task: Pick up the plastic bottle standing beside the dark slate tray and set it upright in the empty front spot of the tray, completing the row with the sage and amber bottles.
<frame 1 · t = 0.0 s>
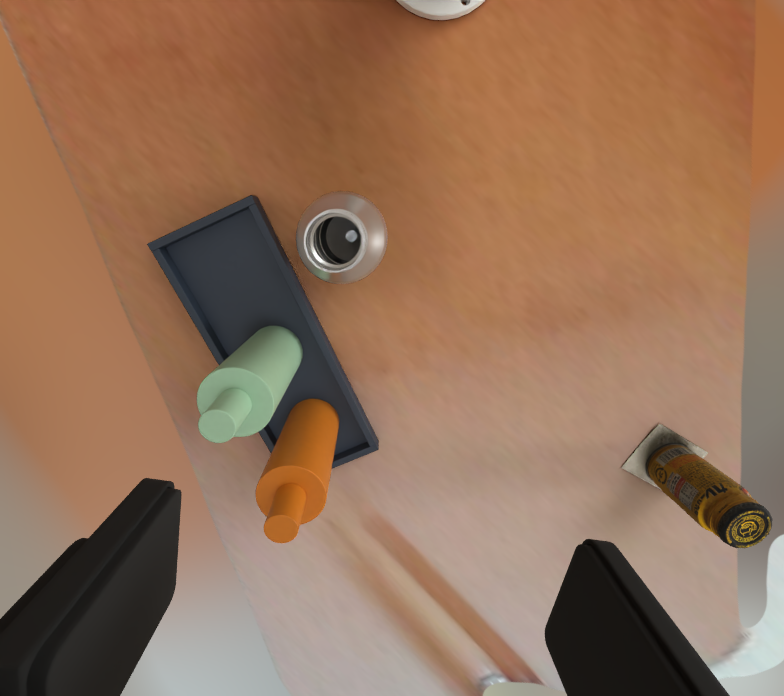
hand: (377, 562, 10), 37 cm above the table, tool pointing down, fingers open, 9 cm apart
sage bottle: (275, 351, 46), point 1 cm above the table, touching tray
condiment: (662, 458, 53), on the table
tray: (277, 350, 46), on the table
amber bottle: (313, 421, 49), point 1 cm above the table, touching tray
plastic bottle: (351, 235, 43), on the table
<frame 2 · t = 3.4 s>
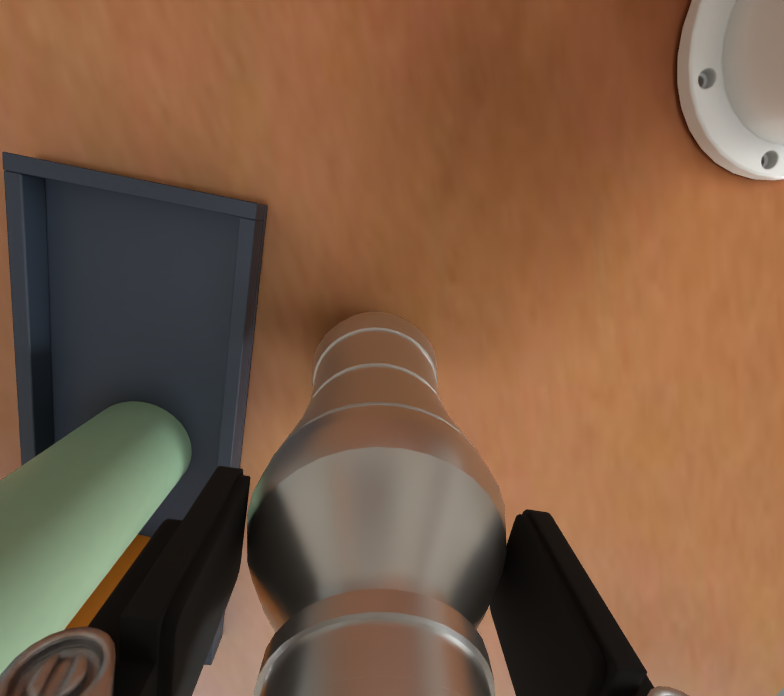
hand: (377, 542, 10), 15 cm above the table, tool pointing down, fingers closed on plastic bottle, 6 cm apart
sage bottle: (141, 446, 25), point 1 cm above the table, touching tray
tray: (146, 441, 26), on the table
amber bottle: (137, 570, 28), point 1 cm above the table, touching tray
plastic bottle: (375, 355, 25), on the table, touching gripper
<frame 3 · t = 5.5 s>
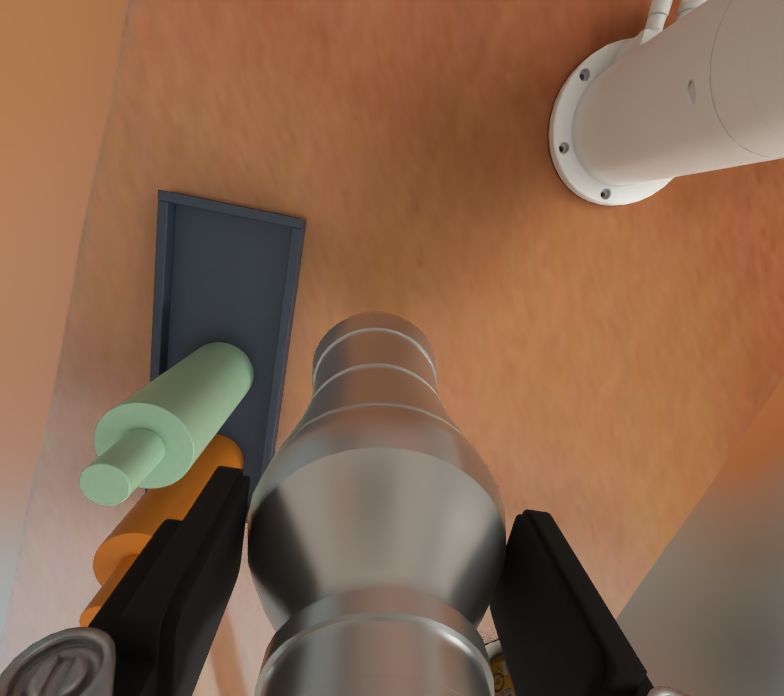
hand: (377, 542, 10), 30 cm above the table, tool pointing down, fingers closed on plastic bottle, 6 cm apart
sage bottle: (221, 372, 39), point 1 cm above the table, touching tray
condiment: (506, 661, 52), on the table
tray: (223, 370, 40), on the table
amber bottle: (213, 459, 41), point 1 cm above the table, touching tray
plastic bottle: (375, 355, 25), point 15 cm above the table, touching gripper
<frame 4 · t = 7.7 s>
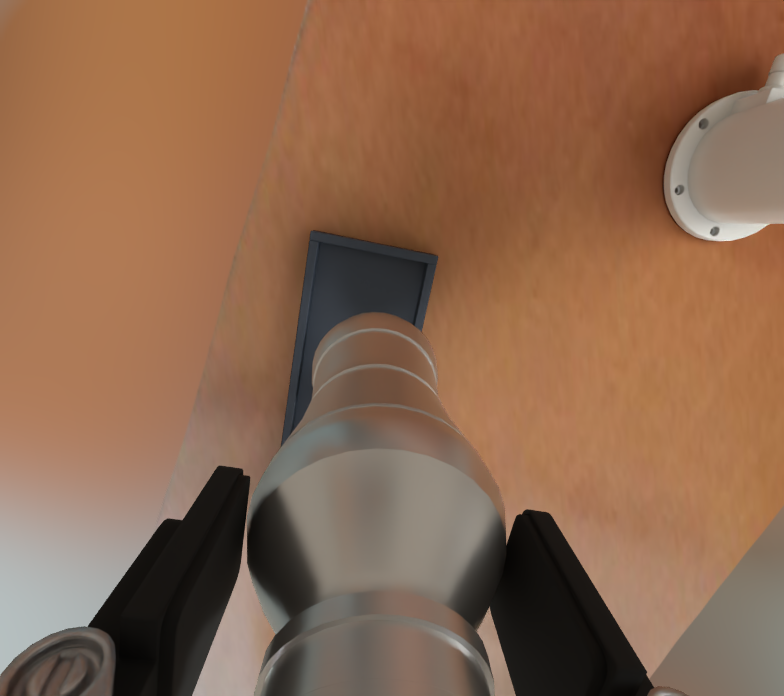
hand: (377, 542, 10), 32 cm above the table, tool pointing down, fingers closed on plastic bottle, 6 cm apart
tray: (348, 391, 43), on the table
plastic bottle: (375, 356, 25), point 16 cm above the table, touching gripper
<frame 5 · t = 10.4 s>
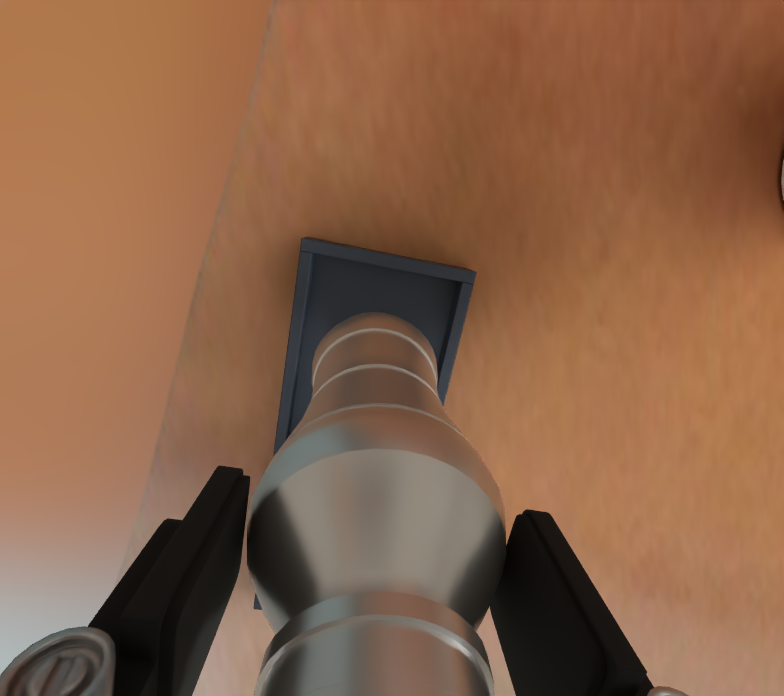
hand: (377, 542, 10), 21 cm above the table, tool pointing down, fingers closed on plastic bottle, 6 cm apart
tray: (353, 446, 33), on the table
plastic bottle: (375, 356, 25), point 6 cm above the table, touching gripper
when the fingers open (16 cm above the table, at t = 12.5 s): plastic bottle stays where it is, resting on tray.
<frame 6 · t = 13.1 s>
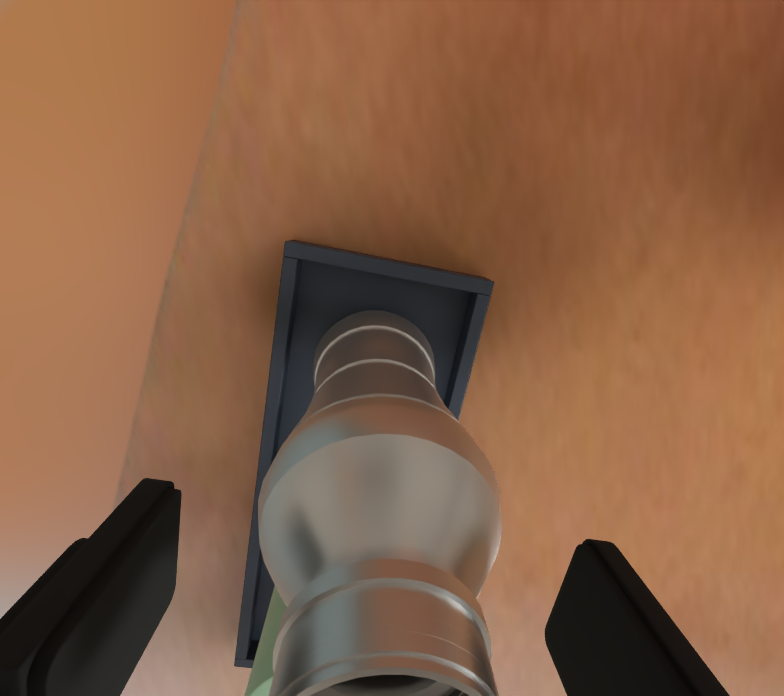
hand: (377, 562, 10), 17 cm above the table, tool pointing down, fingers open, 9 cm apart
sage bottle: (348, 486, 28), point 1 cm above the table, touching tray
tray: (348, 480, 28), on the table
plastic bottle: (374, 353, 25), resting on tray
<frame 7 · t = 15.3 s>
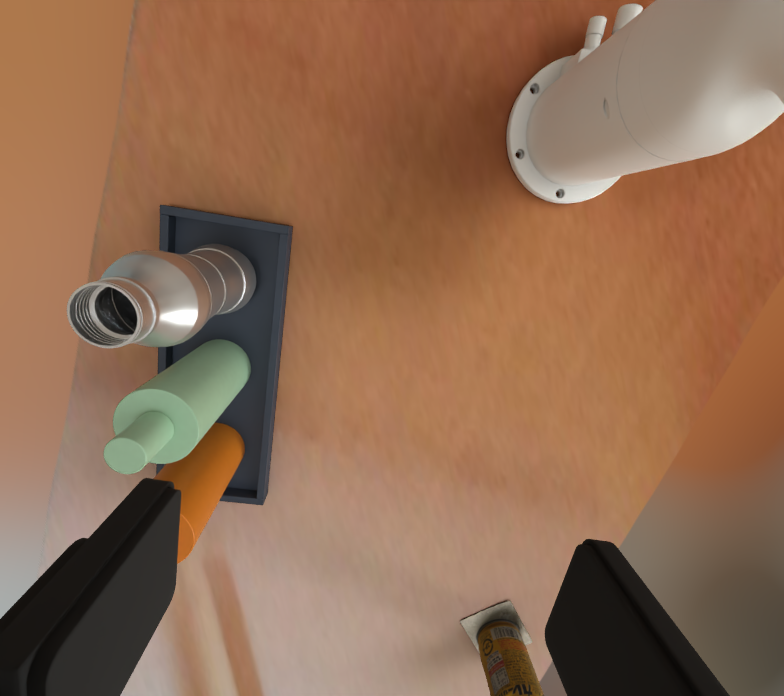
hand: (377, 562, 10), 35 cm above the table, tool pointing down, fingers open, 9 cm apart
sage bottle: (222, 366, 43), point 1 cm above the table, touching tray
condiment: (495, 629, 56), on the table
tray: (223, 364, 44), on the table
amber bottle: (217, 447, 46), point 1 cm above the table, touching tray
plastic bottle: (228, 276, 41), resting on tray
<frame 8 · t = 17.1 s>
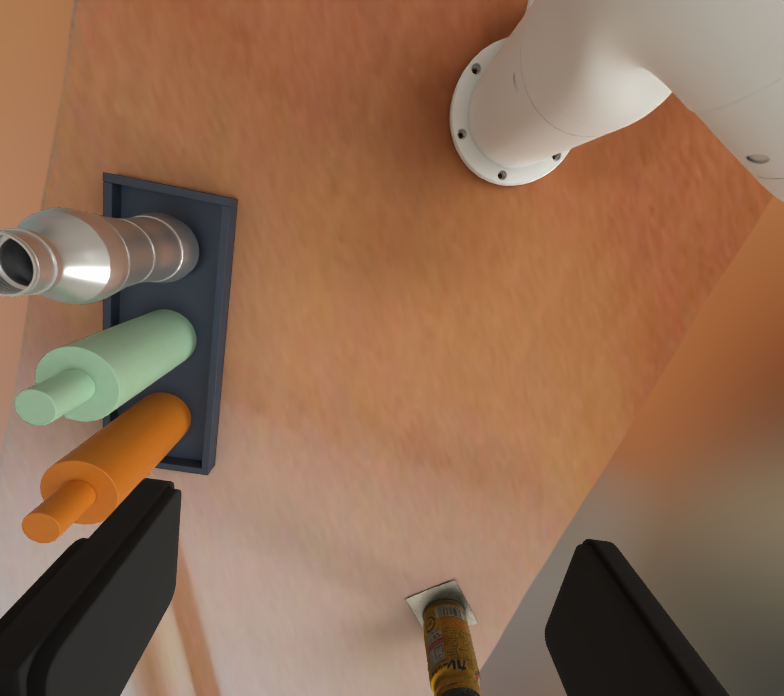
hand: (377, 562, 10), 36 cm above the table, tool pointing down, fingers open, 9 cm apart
sage bottle: (168, 336, 44), point 1 cm above the table, touching tray
condiment: (441, 608, 57), on the table
tray: (170, 335, 45), on the table
amber bottle: (164, 416, 46), point 1 cm above the table, touching tray
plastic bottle: (173, 247, 42), resting on tray
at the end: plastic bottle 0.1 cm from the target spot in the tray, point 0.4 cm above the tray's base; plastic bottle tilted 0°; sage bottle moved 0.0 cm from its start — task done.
